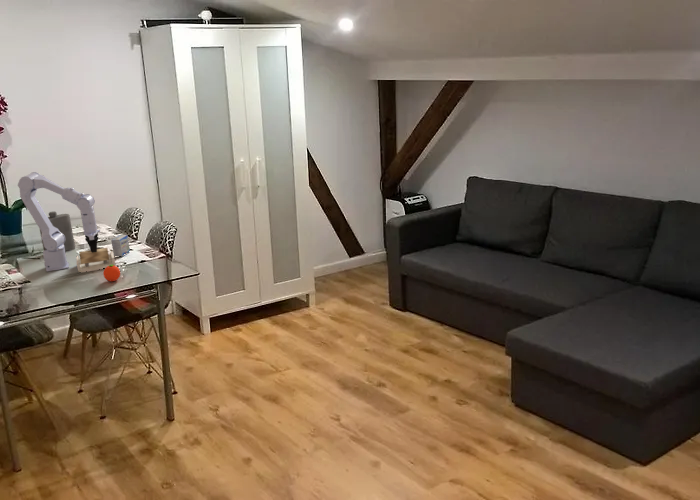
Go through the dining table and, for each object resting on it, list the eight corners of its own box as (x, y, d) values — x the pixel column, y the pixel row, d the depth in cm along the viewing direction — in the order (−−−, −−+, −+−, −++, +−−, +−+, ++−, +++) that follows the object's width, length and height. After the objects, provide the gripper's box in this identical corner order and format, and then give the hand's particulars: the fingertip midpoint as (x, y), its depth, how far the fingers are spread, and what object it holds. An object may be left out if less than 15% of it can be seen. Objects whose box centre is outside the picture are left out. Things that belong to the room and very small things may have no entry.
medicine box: (122, 257, 329) (119, 240, 326) (113, 257, 330) (110, 239, 327) (130, 251, 336) (127, 234, 334) (122, 251, 337) (119, 234, 335)
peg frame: (78, 272, 311) (76, 263, 310) (78, 265, 321) (76, 256, 319) (115, 267, 316) (114, 257, 315) (114, 259, 326) (112, 250, 325)
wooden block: (81, 263, 313) (79, 254, 312) (81, 261, 317) (79, 251, 315) (109, 259, 317) (107, 250, 316) (108, 257, 321) (107, 247, 319)
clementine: (107, 277, 304) (105, 262, 302) (123, 276, 304) (121, 261, 302) (102, 284, 296) (100, 268, 294) (119, 283, 297) (116, 267, 294)
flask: (71, 246, 349) (64, 207, 342) (77, 248, 345) (70, 209, 338) (42, 254, 339) (34, 214, 332) (47, 256, 335) (39, 216, 328)
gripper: (99, 224, 307) (104, 254, 311) (97, 216, 320) (102, 245, 324) (82, 227, 304) (87, 256, 309) (81, 219, 317) (86, 247, 322)
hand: (94, 250), depth 316 cm, fingers open, 4 cm apart
